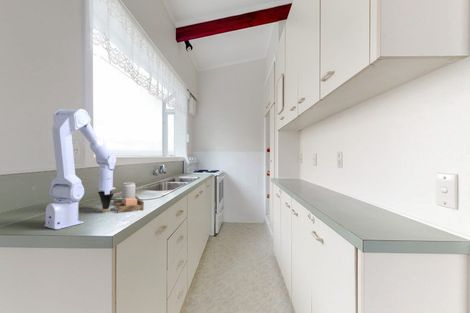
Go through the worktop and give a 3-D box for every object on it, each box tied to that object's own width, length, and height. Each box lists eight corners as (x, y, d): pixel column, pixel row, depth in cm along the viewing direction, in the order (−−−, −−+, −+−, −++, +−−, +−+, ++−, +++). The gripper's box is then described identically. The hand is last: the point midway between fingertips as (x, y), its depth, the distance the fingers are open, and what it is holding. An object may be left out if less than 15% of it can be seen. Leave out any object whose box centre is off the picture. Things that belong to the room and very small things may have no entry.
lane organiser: (118, 212, 106) (118, 204, 106) (113, 204, 121) (113, 197, 121) (143, 210, 112) (143, 202, 112) (135, 202, 127) (135, 195, 127)
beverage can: (137, 204, 123) (138, 182, 123) (130, 207, 117) (131, 183, 117) (126, 203, 124) (126, 181, 124) (119, 206, 118) (119, 183, 118)
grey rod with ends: (101, 213, 104) (102, 200, 104) (100, 210, 108) (101, 198, 108) (136, 209, 113) (137, 197, 113) (134, 207, 117) (135, 195, 117)
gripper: (117, 179, 103) (116, 209, 103) (113, 176, 115) (112, 203, 115) (99, 180, 99) (98, 211, 99) (97, 177, 111) (96, 205, 111)
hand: (105, 207), depth 107 cm, fingers open, 5 cm apart
